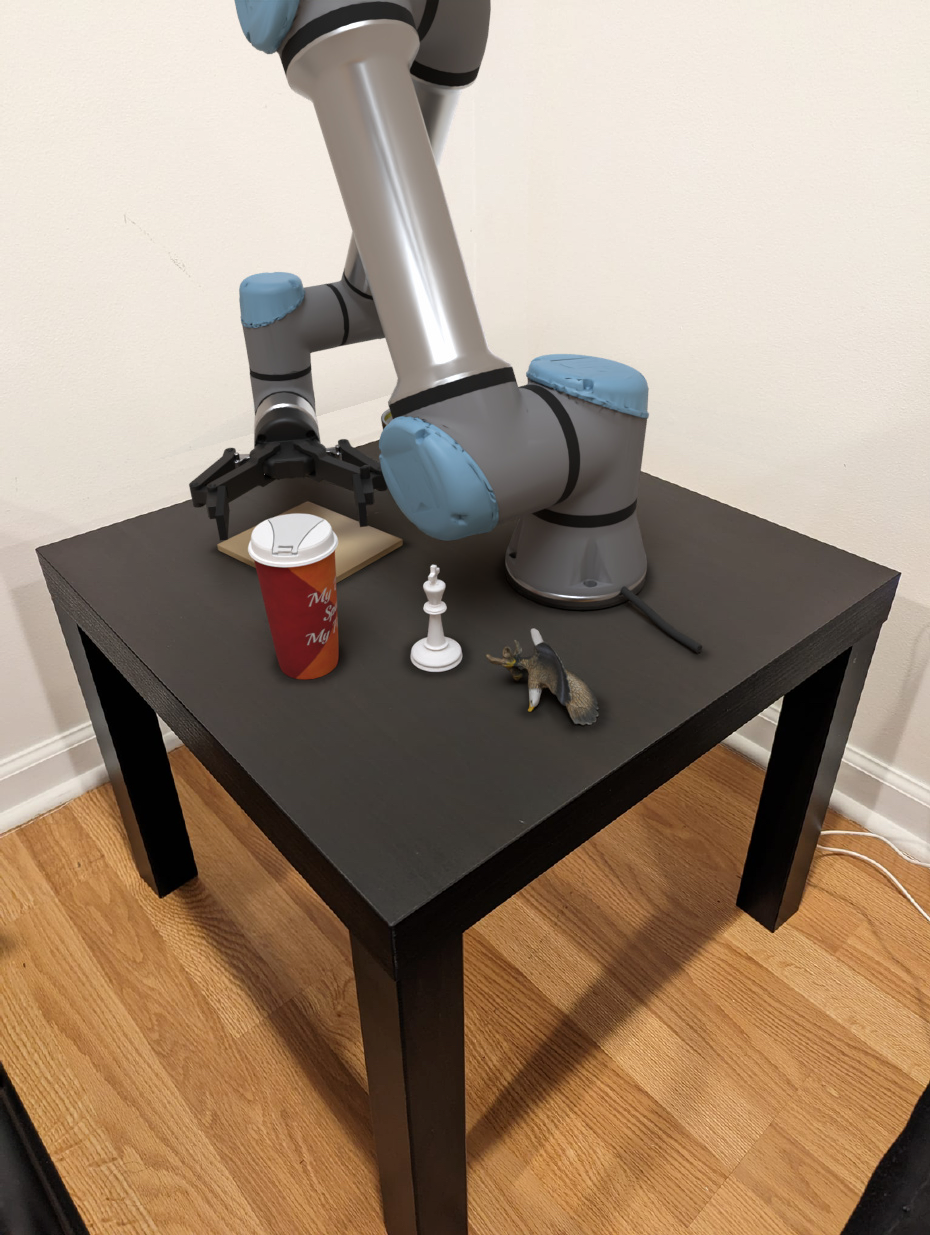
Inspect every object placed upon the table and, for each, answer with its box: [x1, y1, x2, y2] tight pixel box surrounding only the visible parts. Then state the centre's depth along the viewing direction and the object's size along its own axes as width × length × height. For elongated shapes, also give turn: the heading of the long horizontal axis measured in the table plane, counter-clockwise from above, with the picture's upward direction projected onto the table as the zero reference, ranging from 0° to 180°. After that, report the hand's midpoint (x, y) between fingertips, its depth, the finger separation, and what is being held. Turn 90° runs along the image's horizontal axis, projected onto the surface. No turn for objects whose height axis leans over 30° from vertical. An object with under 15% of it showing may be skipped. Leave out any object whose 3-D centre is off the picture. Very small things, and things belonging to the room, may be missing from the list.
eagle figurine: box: [485, 627, 600, 726], centre depth 75 cm, size 8×7×9 cm
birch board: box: [216, 500, 404, 584], centre depth 100 cm, size 16×14×1 cm
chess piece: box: [410, 564, 463, 673], centre depth 80 cm, size 5×5×10 cm
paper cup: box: [248, 514, 340, 680], centre depth 78 cm, size 8×8×14 cm
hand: (293, 521), depth 85 cm, fingers open, 13 cm apart
